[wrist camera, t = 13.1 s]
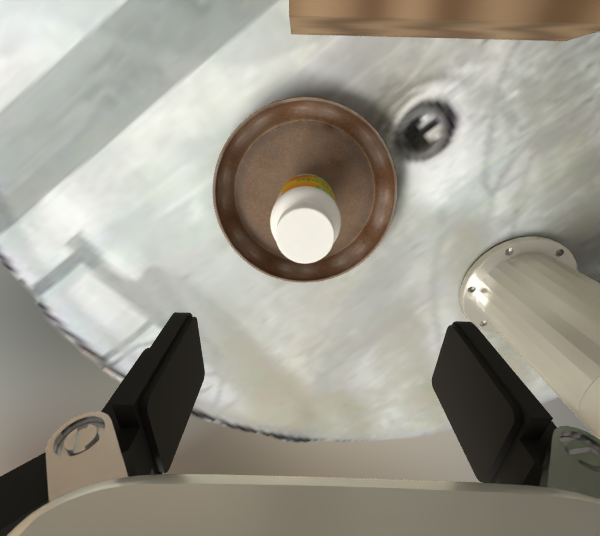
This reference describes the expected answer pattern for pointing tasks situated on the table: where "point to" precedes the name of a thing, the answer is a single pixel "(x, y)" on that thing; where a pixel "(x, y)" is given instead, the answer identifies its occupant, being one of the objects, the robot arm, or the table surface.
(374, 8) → the frame
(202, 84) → the table surface
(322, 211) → the supplement bottle
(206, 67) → the table surface
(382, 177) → the plant saucer
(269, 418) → the table surface
